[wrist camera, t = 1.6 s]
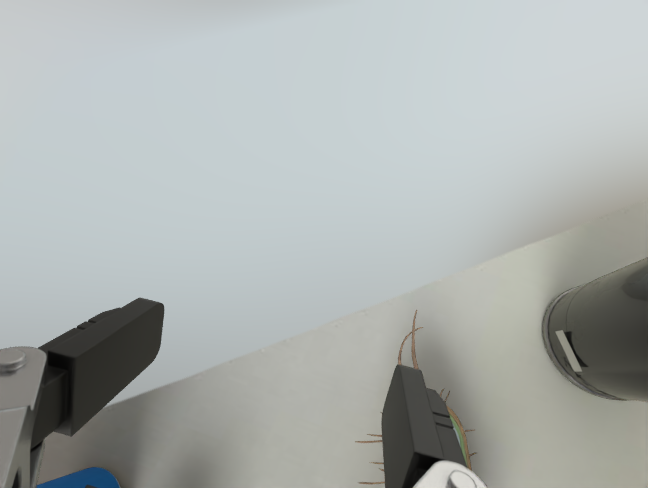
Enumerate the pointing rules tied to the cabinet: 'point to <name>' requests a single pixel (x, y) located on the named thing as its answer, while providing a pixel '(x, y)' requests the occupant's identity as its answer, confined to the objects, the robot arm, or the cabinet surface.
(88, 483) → the beverage can
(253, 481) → the cabinet surface
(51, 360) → the robot arm
